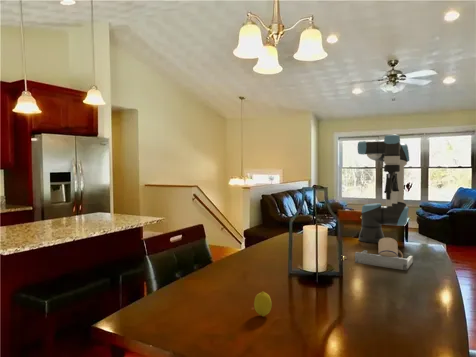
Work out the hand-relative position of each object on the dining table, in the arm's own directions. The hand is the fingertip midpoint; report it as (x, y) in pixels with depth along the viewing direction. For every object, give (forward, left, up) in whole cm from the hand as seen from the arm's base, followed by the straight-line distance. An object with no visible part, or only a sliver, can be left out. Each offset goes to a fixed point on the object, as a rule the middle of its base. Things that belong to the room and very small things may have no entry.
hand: (391, 204), depth 180 cm
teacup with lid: (+13, +2, -18) cm, 22 cm away
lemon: (+102, -17, -27) cm, 107 cm away
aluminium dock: (+17, 0, -27) cm, 32 cm away
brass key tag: (+21, -19, -27) cm, 39 cm away
